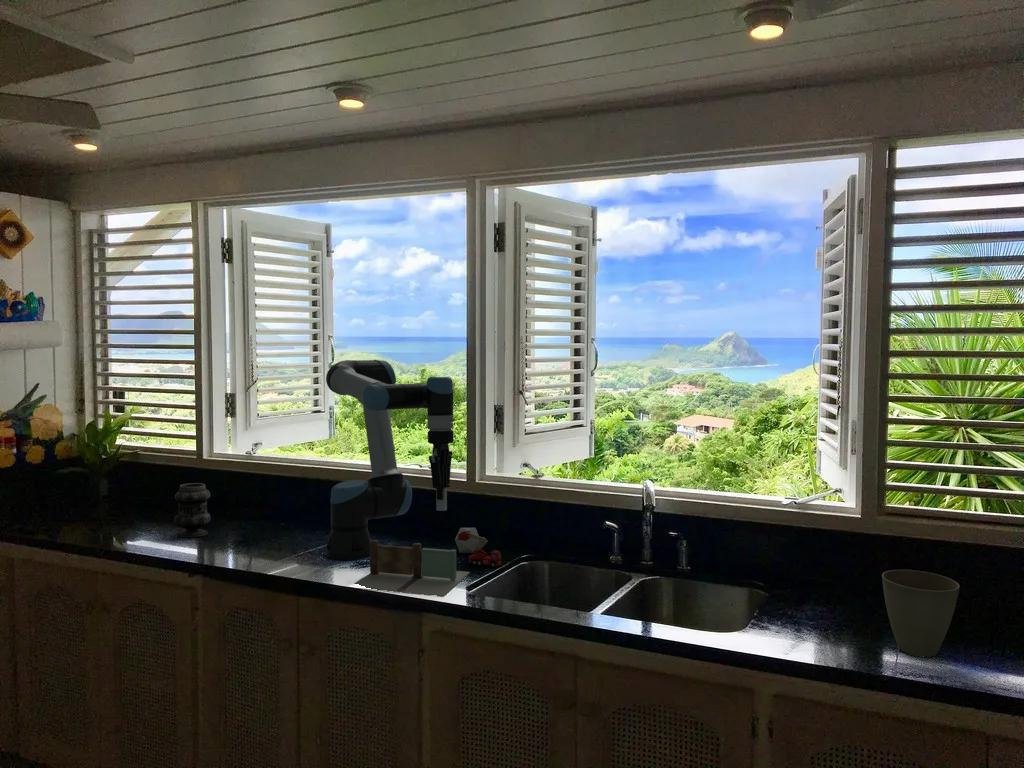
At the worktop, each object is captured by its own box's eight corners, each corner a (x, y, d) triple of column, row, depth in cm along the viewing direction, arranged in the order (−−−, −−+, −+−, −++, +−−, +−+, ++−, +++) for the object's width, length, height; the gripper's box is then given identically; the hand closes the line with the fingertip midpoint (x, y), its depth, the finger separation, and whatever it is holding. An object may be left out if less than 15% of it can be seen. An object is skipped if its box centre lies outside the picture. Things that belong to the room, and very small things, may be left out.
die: (470, 559, 235) (486, 533, 237) (447, 544, 236) (464, 519, 239) (471, 561, 242) (486, 536, 245) (449, 547, 244) (465, 522, 246)
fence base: (368, 575, 215) (368, 541, 214) (372, 573, 217) (372, 539, 217) (419, 579, 211) (419, 545, 210) (422, 577, 213) (422, 543, 213)
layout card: (349, 587, 203) (349, 586, 203) (383, 565, 225) (383, 564, 225) (443, 596, 196) (443, 595, 196) (469, 573, 217) (469, 571, 217)
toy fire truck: (498, 567, 223) (499, 536, 223) (457, 563, 228) (457, 532, 227) (502, 564, 226) (502, 533, 226) (461, 560, 231) (461, 530, 231)
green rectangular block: (421, 577, 211) (421, 548, 210) (423, 575, 213) (423, 547, 212) (454, 580, 208) (454, 551, 208) (456, 578, 210) (456, 549, 210)
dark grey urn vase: (218, 533, 264) (217, 483, 263) (187, 540, 254) (187, 489, 253) (197, 529, 271) (196, 480, 270) (167, 535, 261) (166, 485, 260)
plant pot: (884, 659, 157) (886, 585, 156) (876, 634, 171) (878, 566, 170) (964, 670, 152) (966, 594, 151) (950, 643, 165) (952, 573, 165)
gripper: (444, 431, 206) (445, 515, 207) (460, 428, 219) (461, 506, 219) (419, 431, 208) (420, 513, 209) (437, 427, 221) (438, 505, 221)
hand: (441, 510), depth 214 cm, fingers closed
